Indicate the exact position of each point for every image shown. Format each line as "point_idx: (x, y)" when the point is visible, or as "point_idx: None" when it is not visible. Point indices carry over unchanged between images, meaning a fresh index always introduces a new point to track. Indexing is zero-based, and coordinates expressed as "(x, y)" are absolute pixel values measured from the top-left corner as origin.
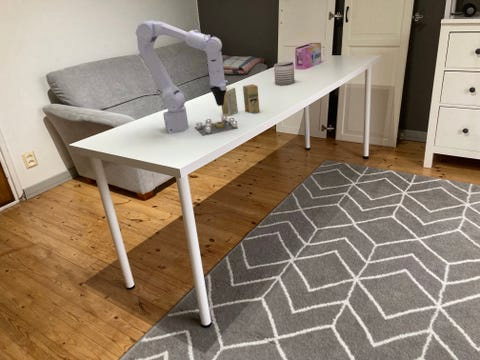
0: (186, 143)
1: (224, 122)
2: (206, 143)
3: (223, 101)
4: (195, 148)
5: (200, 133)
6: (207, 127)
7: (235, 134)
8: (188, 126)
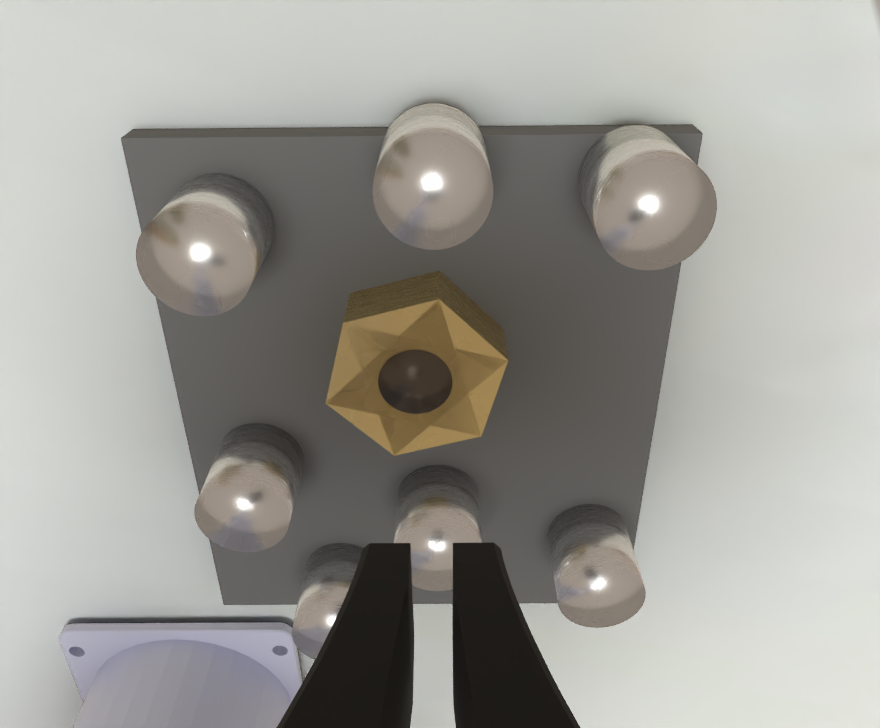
0: (655, 716)
1: (431, 312)
2: (823, 594)
3: (524, 618)
4: (861, 689)
5: (518, 600)
6: (602, 602)
7: (835, 236)
8: (201, 661)
